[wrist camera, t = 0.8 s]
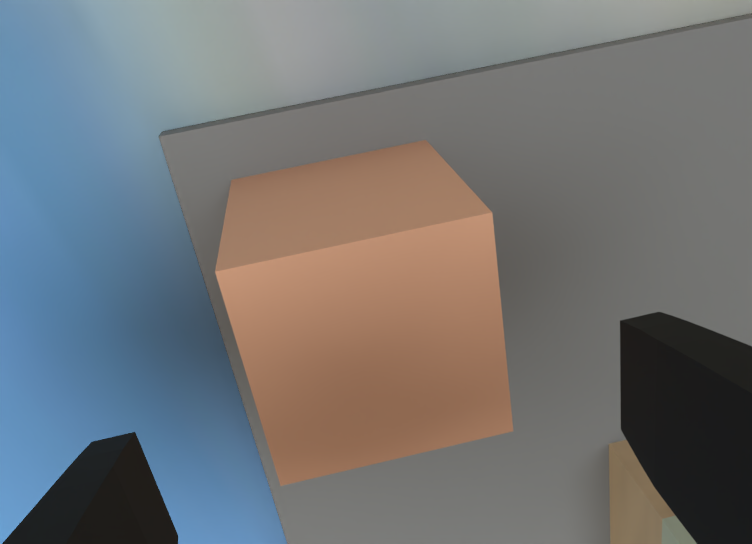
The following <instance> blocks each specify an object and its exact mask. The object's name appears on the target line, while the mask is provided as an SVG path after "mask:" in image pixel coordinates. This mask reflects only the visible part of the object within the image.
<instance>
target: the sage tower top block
mask: <svg viewBox="0 0 752 544" xmlns="http://www.w3.org/2000/svg"><path fill="white" fill-rule="evenodd" d="M662 544H697V543H696V542H695V540H694V539H693V538H692V537H691V535H690V534H689V533H688V531H687V530H686V529H685V527H684V526H683V525H682V523H681V522H680V521H679V520H678V518H677V517H676V516H672V517H667V518H663V519H662Z"/></svg>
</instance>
